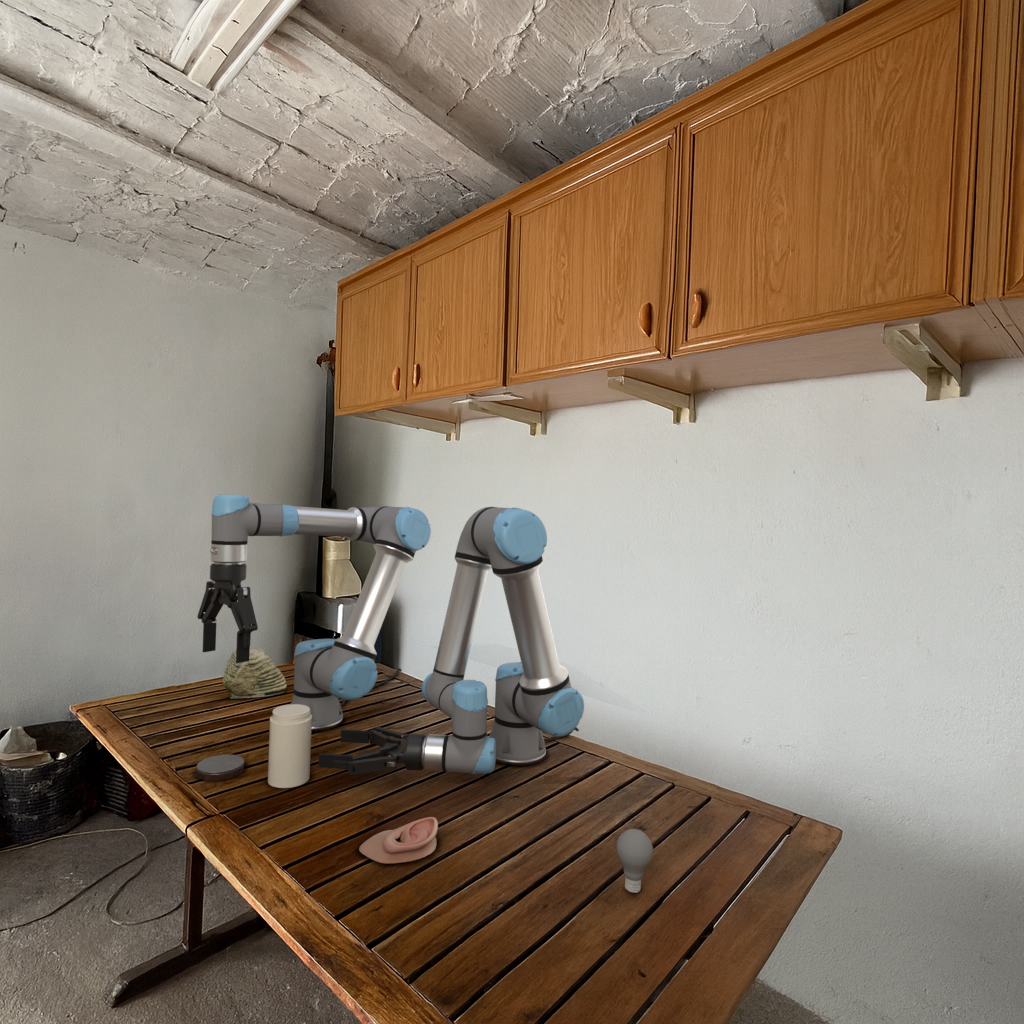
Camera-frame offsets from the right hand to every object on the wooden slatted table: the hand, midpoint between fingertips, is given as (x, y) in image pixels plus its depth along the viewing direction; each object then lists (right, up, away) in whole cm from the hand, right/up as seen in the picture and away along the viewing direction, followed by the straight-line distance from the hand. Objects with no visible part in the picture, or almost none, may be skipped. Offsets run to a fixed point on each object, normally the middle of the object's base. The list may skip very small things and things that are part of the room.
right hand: (330, 747), depth 140 cm
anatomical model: (+20, -9, -25) cm, 33 cm away
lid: (-26, -5, +3) cm, 27 cm away
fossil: (-40, -5, +58) cm, 71 cm away
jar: (-10, -7, +1) cm, 12 cm away
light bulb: (+60, -11, -35) cm, 71 cm away
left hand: (-25, +20, +3) cm, 32 cm away
